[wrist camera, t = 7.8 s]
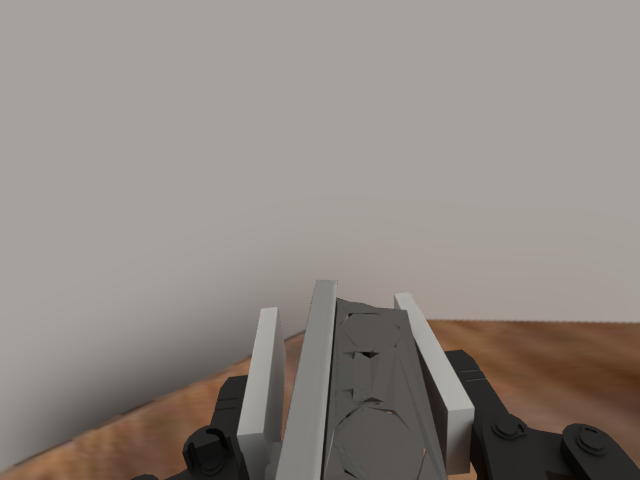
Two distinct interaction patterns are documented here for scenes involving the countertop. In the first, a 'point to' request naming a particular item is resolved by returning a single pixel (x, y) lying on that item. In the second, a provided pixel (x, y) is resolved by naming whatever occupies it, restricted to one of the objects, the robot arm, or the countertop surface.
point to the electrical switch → (357, 399)
